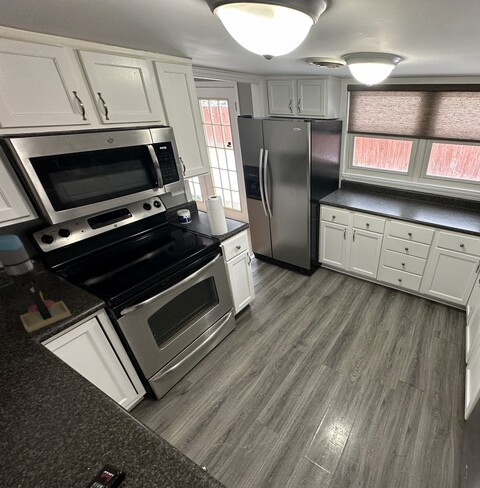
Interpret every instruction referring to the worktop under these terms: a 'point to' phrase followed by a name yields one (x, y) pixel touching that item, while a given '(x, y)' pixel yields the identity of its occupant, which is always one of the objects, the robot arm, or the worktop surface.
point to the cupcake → (49, 304)
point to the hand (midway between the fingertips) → (45, 314)
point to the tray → (35, 323)
